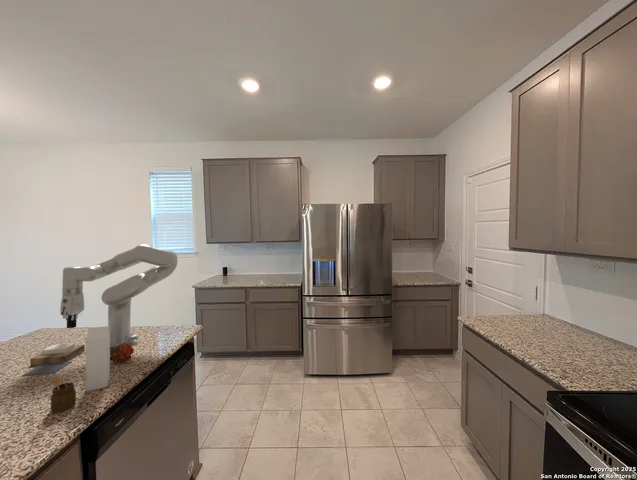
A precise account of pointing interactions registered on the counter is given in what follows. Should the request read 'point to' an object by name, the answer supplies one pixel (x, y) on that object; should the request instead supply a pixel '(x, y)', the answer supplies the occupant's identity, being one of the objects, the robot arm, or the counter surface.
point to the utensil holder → (62, 395)
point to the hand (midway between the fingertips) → (71, 327)
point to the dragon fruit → (121, 353)
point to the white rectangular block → (58, 349)
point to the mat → (47, 368)
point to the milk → (97, 358)
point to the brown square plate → (57, 356)
